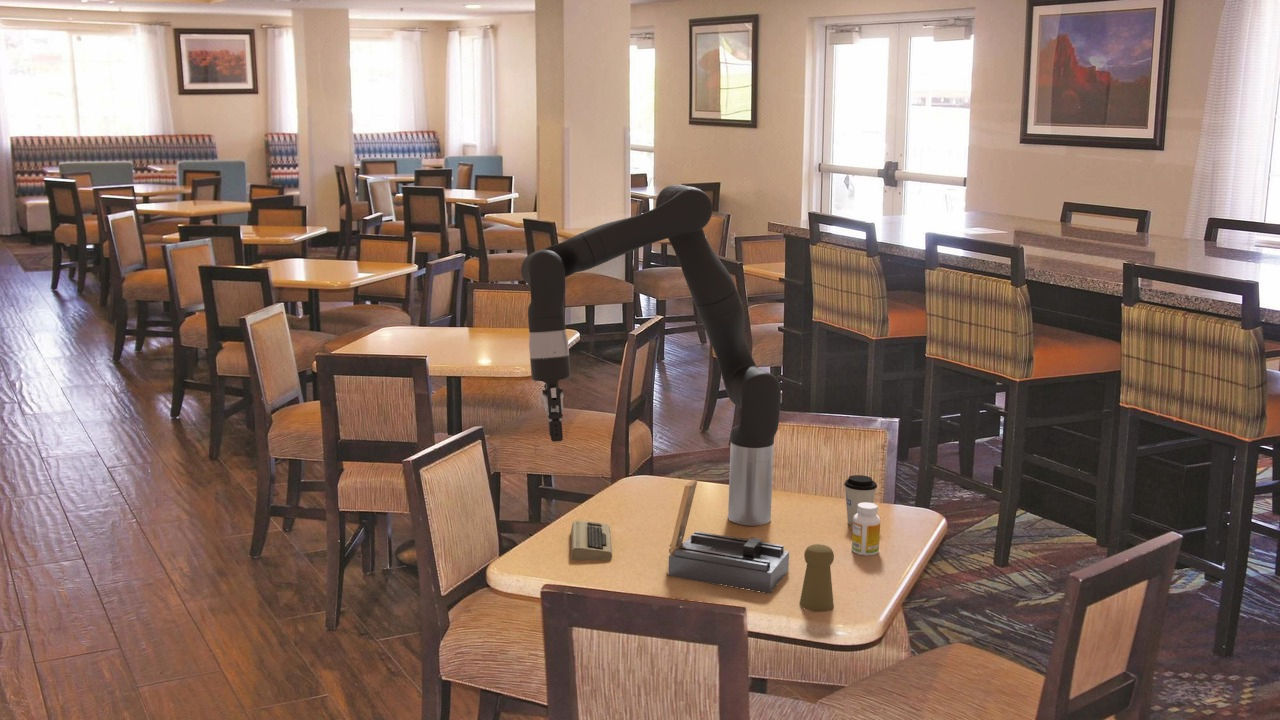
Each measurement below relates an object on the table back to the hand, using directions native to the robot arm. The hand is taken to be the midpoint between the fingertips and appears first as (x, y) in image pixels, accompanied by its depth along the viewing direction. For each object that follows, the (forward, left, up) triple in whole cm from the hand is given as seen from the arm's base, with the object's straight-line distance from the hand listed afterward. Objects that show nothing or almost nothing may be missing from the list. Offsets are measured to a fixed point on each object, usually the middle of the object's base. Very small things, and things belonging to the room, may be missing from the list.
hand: (556, 438), depth 226 cm
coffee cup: (-45, +50, -24) cm, 71 cm away
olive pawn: (+1, +53, -24) cm, 58 cm away
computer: (-8, +4, -25) cm, 26 cm away
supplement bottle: (-29, +55, -24) cm, 67 cm away
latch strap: (-6, +25, -14) cm, 29 cm away
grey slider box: (-6, +34, -24) cm, 42 cm away
